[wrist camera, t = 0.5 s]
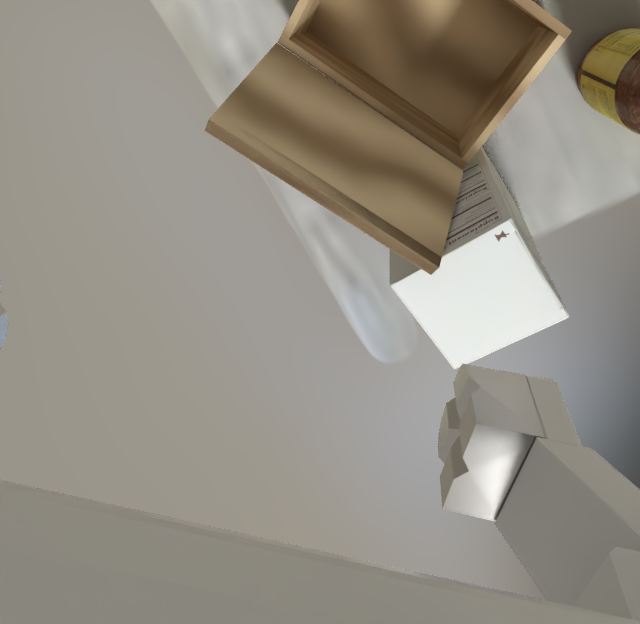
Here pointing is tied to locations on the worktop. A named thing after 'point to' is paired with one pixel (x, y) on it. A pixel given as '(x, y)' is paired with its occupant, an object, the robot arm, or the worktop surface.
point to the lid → (342, 155)
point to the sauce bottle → (614, 77)
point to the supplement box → (480, 274)
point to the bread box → (430, 60)
